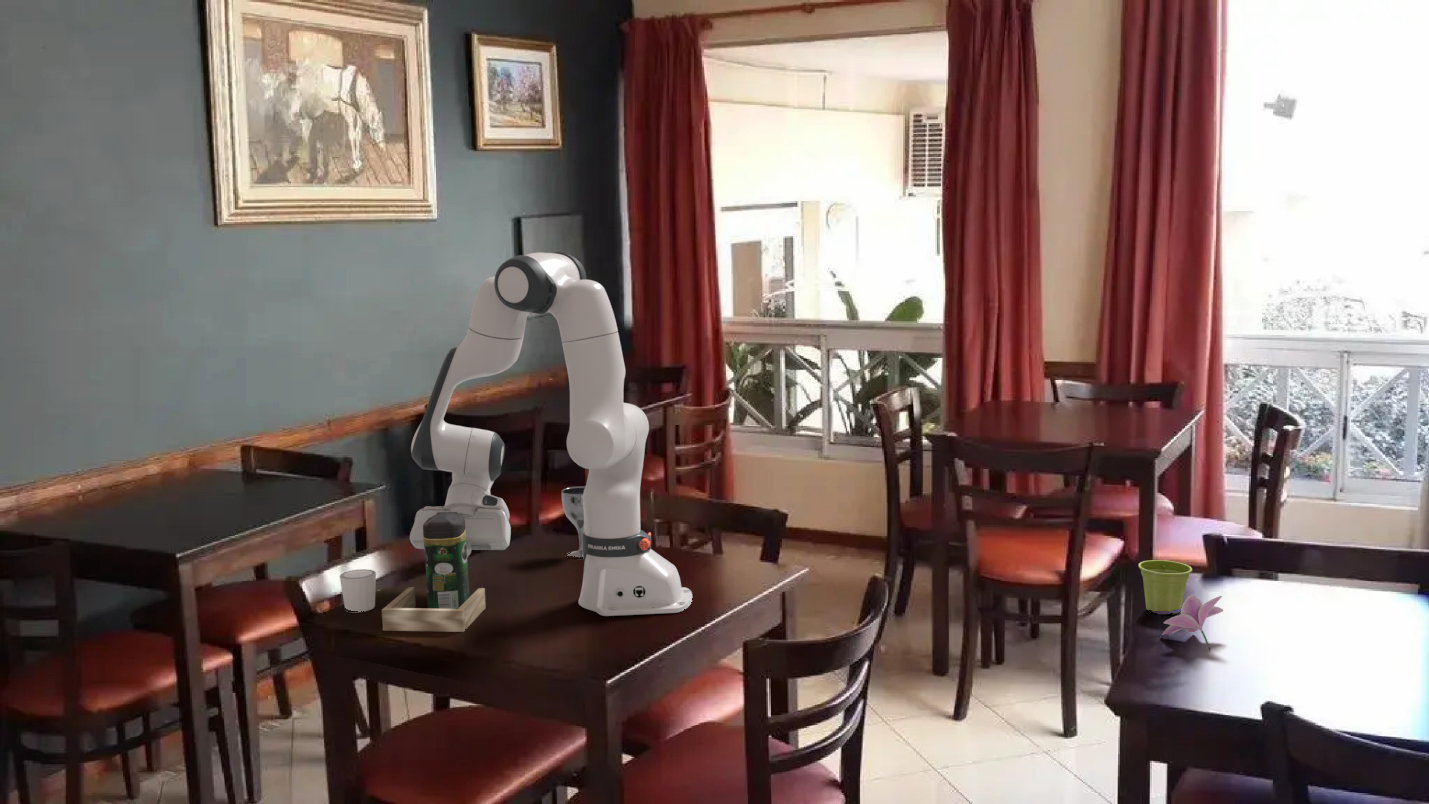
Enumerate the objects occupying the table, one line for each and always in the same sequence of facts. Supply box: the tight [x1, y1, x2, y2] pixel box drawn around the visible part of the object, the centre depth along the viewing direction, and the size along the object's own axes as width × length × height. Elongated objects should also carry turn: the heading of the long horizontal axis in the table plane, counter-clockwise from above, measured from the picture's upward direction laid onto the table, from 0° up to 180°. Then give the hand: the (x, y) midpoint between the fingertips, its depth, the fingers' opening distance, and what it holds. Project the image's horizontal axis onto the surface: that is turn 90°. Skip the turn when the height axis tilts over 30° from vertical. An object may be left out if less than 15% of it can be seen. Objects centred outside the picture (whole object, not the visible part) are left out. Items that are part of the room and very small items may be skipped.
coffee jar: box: [423, 512, 471, 609], centre depth 240 cm, size 10×8×19 cm
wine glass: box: [561, 485, 586, 558], centre depth 276 cm, size 8×8×15 cm
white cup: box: [339, 568, 377, 613], centre depth 241 cm, size 7×7×7 cm
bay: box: [381, 586, 487, 633], centre depth 234 cm, size 15×14×4 cm
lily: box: [1161, 594, 1224, 646], centre depth 211 cm, size 12×12×10 cm
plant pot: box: [1138, 559, 1193, 611], centre depth 229 cm, size 9×9×9 cm
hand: (453, 566), depth 245 cm, fingers closed, pressing on coffee jar
